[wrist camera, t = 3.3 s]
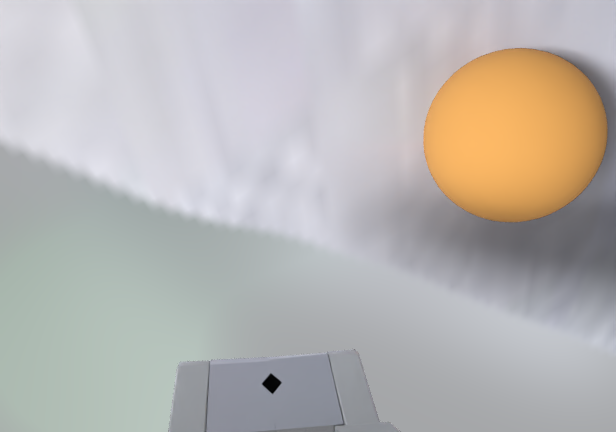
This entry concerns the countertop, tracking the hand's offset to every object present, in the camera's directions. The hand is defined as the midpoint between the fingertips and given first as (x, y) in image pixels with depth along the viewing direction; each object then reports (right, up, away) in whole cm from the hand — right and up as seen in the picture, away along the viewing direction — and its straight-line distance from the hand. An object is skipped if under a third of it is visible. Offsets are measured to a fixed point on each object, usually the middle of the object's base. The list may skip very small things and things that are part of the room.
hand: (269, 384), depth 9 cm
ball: (+8, +6, +10) cm, 14 cm away
